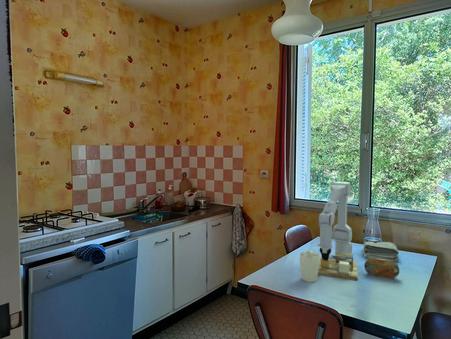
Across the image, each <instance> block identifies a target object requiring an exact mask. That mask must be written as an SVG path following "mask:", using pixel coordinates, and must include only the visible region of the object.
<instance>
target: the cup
mask: <svg viewBox="0 0 451 339" xmlns="http://www.w3.org/2000/svg"><path fill="white" fill-rule="evenodd" d="M319 257H320V254H319V253H318V252H315V251H310V250H309V251H306V250H305V251H301V252H300V253H299V264H300V273H301V279H302V280H303V281H304V282H307V283H314V282H316V281H317V278H318V275H319V274H318V269H319V263H320V258H319Z"/></svg>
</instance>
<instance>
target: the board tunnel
mask: <svg viewBox="0 0 451 339" xmlns="http://www.w3.org/2000/svg"><path fill="white" fill-rule="evenodd" d="M337 257H343V258H346V259H340V258H337ZM319 258H320V263H319V269H318V274H317V275H319V276H320V275H321V276H327V277H334V278H339V279H340V278H342V279H348V280H355V281H358V277H359V275H358V268H357V261H354V253H352V254H347V253H339V252H336V257H335V258H330V257H329V258H328V260H329V266H331V267H338V265H339V261H344V262H349V267H351V275H349V274H342V273H337V270H335V269H328V268H321V259H322V256H319ZM347 259H351V260H347Z"/></svg>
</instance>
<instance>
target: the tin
mask: <svg viewBox="0 0 451 339" xmlns="http://www.w3.org/2000/svg"><path fill="white" fill-rule="evenodd" d="M363 266H364V271H365V272H366V273H367V274H369V275H370V276H374V277H378V278H385V279H395V278H397V277H398V275H399V274H400V268H399V266H398V264H397V263H396V261H391V260H385V259H378V258H367V259H366V261H365V263H364V265H363Z"/></svg>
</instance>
